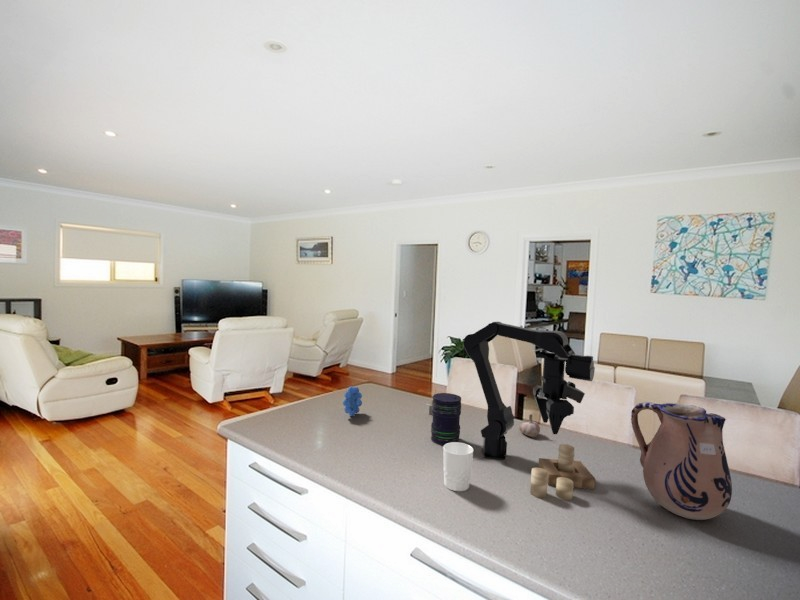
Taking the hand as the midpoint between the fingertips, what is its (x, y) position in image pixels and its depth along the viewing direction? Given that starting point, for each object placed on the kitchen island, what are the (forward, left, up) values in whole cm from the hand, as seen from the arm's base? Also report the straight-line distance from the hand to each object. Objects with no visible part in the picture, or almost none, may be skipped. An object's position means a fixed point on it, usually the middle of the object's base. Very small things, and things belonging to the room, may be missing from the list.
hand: (549, 428), depth 113 cm
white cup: (-27, -12, -13) cm, 32 cm away
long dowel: (+4, -3, -13) cm, 14 cm away
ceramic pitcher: (+27, -14, -13) cm, 33 cm away
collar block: (+4, -3, -13) cm, 14 cm away
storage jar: (-29, +18, -13) cm, 37 cm away
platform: (-31, +42, -14) cm, 54 cm away
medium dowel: (-6, -13, -13) cm, 19 cm away
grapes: (-64, +35, -13) cm, 74 cm away
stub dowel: (+1, -13, -13) cm, 18 cm away
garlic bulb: (+2, +29, -13) cm, 32 cm away
